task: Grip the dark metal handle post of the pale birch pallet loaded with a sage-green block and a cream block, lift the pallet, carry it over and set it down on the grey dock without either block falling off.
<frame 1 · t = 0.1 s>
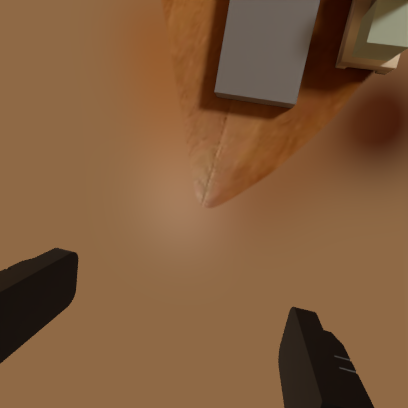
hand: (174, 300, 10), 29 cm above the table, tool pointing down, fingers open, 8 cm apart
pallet: (375, 12, 31), on the table, touching cream block, green block
green block: (375, 39, 30), point 2 cm above the table, touching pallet
dock: (266, 41, 34), on the table
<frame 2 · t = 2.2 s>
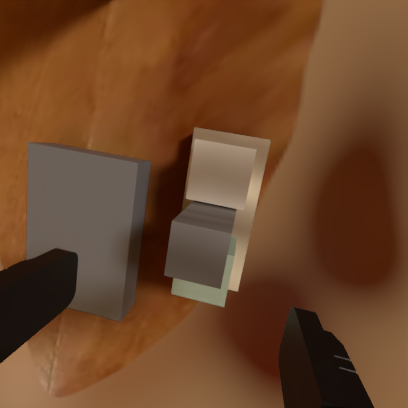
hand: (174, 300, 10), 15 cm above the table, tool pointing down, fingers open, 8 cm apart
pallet: (220, 207, 24), on the table, touching cream block, green block
green block: (209, 254, 23), point 2 cm above the table, touching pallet
cream block: (225, 170, 21), point 2 cm above the table, touching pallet
dock: (95, 226, 27), on the table
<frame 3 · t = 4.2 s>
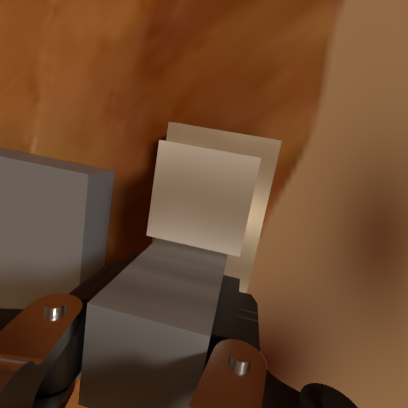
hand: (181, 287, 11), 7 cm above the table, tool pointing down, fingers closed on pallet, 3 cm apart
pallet: (208, 233, 18), on the table, touching cream block, green block, gripper
cream block: (213, 187, 14), point 2 cm above the table, touching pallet
dock: (43, 256, 20), on the table
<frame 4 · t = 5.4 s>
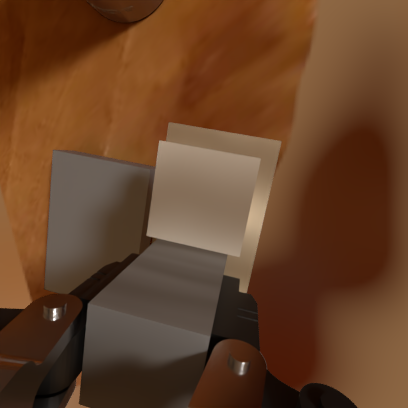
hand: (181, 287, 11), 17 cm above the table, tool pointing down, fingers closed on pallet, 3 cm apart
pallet: (208, 234, 18), point 10 cm above the table, touching cream block, green block, gripper
cream block: (213, 187, 14), point 12 cm above the table, touching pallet
dock: (108, 226, 29), on the table
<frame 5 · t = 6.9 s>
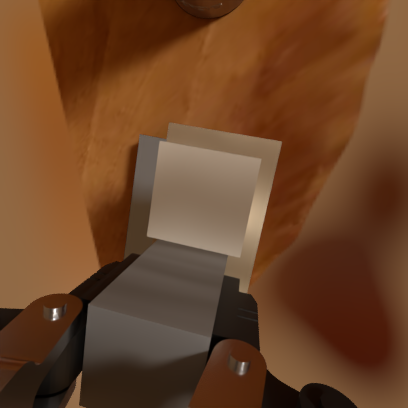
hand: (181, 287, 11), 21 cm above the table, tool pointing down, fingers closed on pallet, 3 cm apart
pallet: (209, 234, 18), point 14 cm above the table, touching cream block, green block, gripper
cream block: (213, 187, 14), point 16 cm above the table, touching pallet
dock: (180, 206, 32), on the table
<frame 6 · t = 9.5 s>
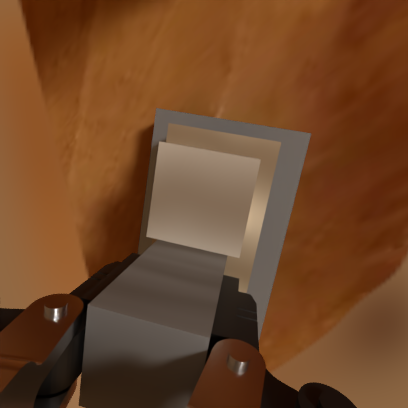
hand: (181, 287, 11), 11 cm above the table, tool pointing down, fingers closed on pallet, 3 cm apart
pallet: (208, 234, 18), point 4 cm above the table, touching cream block, green block, gripper
cream block: (213, 188, 14), point 6 cm above the table, touching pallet
dock: (215, 220, 21), on the table
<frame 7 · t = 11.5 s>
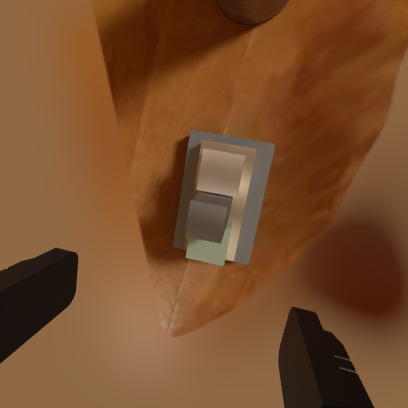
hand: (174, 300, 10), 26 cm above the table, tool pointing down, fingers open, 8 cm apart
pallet: (220, 198, 32), point 3 cm above the table, touching cream block, dock, green block
green block: (212, 232, 30), point 5 cm above the table, touching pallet
cream block: (224, 170, 29), point 5 cm above the table, touching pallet
dock: (222, 195, 35), on the table
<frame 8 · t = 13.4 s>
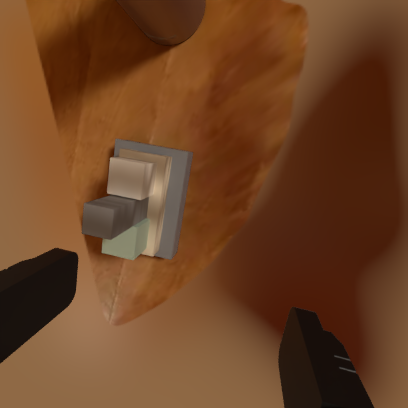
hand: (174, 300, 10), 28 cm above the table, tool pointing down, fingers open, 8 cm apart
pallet: (144, 200, 36), point 3 cm above the table, touching cream block, dock, green block
green block: (133, 230, 34), point 5 cm above the table, touching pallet
cream block: (140, 176, 33), point 5 cm above the table, touching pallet
dock: (151, 197, 39), on the table
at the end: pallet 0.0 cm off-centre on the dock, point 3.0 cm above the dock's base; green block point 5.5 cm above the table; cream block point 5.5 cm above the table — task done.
